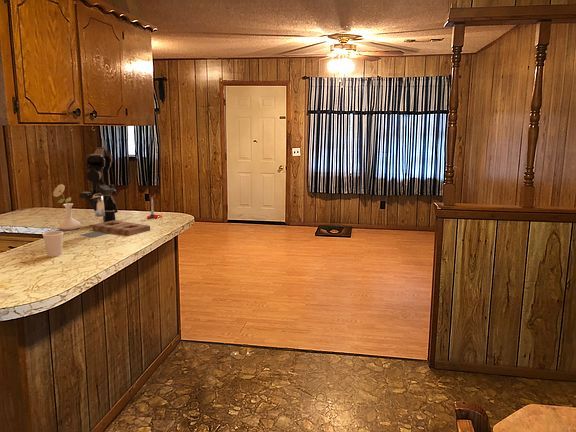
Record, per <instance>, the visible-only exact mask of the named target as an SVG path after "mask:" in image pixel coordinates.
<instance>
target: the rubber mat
mask: <svg viewBox="0 0 576 432" xmlns="http://www.w3.org/2000/svg"><path fill="white" fill-rule="evenodd" d="M109 234H111V232H105V231H99V230H94V231H90V232H86V233H82V234H79V236H81V237H87V238H92V239H93V238H97V237H101V236H102V237H103V236H106V235H109Z"/></svg>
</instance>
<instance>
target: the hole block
mask: <svg viewBox="0 0 576 432" xmlns="http://www.w3.org/2000/svg"><path fill="white" fill-rule="evenodd" d="M115 220H116V219H115ZM115 220H112V221H108V222H103V221H102V222H103V223H101V222H100V223H95V224H92V230H94V231H100V232H106V233H110V234H111V233H113V234H118V235H123V236H124V235H125V236H130V237H131V236H133V235H137V234H141V233H145V232H151V225H149V224H141V223H135V222H129V221H122V220H121V221H120V220H116V221H115Z"/></svg>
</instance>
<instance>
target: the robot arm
mask: <svg viewBox="0 0 576 432" xmlns="http://www.w3.org/2000/svg"><path fill="white" fill-rule="evenodd" d="M112 163H113V156H112V152H111V151H109V150H107V148H106V147H96V148H95V151H94V152H93V153H91V154H88V156H87V158H86V170H89V171H88V172H87V174H86V177H87V180H88V181H89V185H91V189H90V191H82V192H79V194H78V197H79V199H85V200H87V201H88V202H89V204H90V205H91V208H92V210H94V211H93V212H95V211H96V200H97V198H95V196H104V210H105V216H102V219H103V220H102V221H101V222H100V223H103V222H108V221H112V220H115V221H117V220H116V215H115V214H116V213H118V212H119V211H118V205H117V204H116V202H115V198H114V197H113V196H114V195H117V194H118V193H117V190H116V187H115V184H111V180H110V178H111V177H110V168H111V166H112Z"/></svg>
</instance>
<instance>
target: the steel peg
mask: <svg viewBox="0 0 576 432" xmlns="http://www.w3.org/2000/svg"><path fill="white" fill-rule="evenodd" d="M95 198H97V200H96V211H94V217H97V218H100V217H102V218H103V216H105V210H104V196H100V195H96V196H95Z"/></svg>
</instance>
